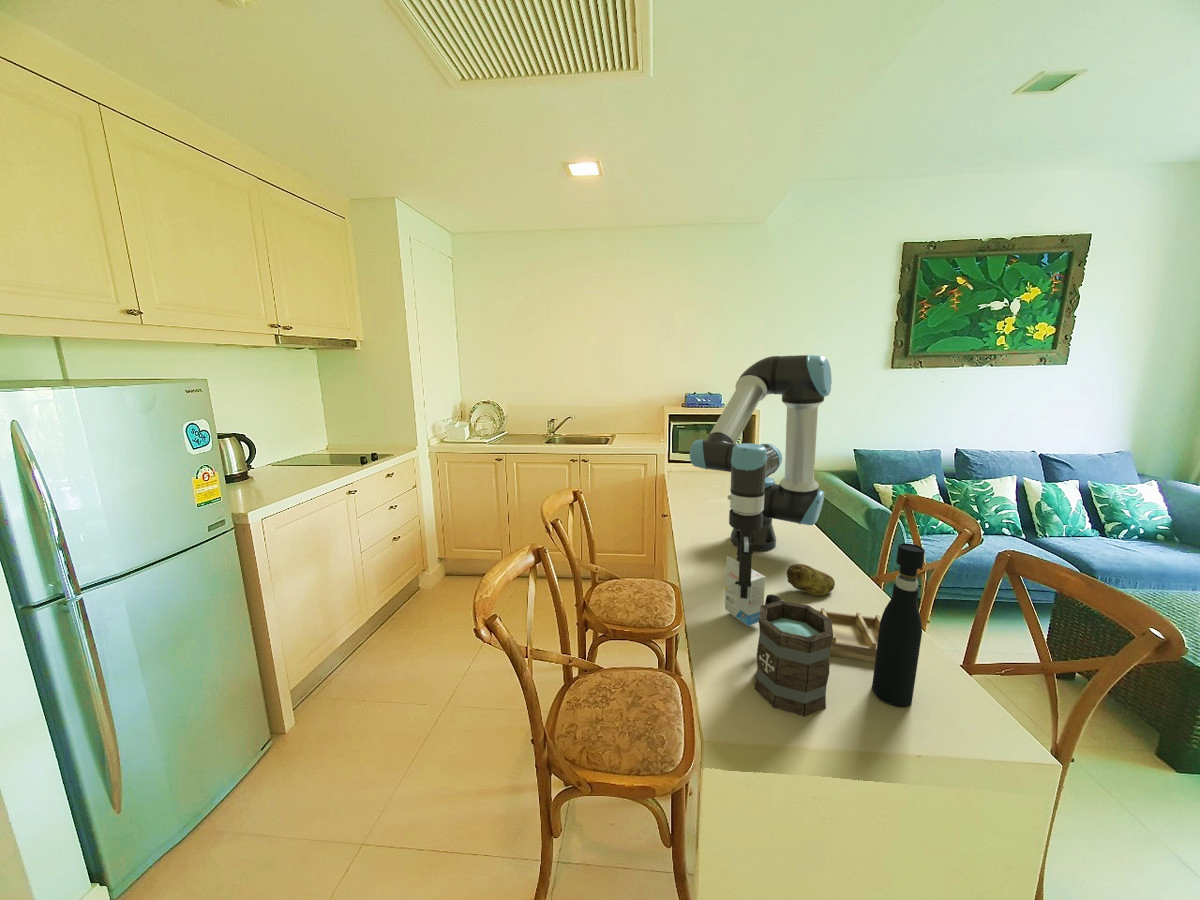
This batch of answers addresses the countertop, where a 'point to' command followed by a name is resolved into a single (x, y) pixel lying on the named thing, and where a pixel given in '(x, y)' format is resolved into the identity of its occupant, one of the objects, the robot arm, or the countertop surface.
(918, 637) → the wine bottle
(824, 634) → the mug
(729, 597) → the ink box
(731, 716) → the countertop surface
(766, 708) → the countertop surface
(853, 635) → the rack
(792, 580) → the potato
